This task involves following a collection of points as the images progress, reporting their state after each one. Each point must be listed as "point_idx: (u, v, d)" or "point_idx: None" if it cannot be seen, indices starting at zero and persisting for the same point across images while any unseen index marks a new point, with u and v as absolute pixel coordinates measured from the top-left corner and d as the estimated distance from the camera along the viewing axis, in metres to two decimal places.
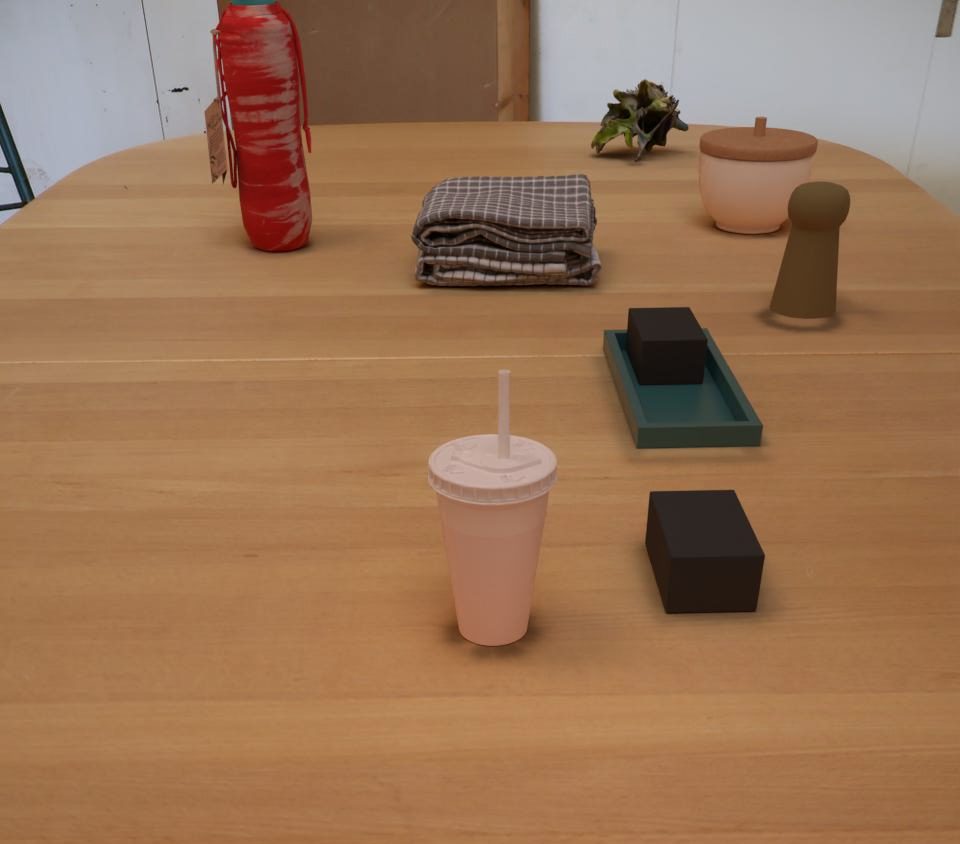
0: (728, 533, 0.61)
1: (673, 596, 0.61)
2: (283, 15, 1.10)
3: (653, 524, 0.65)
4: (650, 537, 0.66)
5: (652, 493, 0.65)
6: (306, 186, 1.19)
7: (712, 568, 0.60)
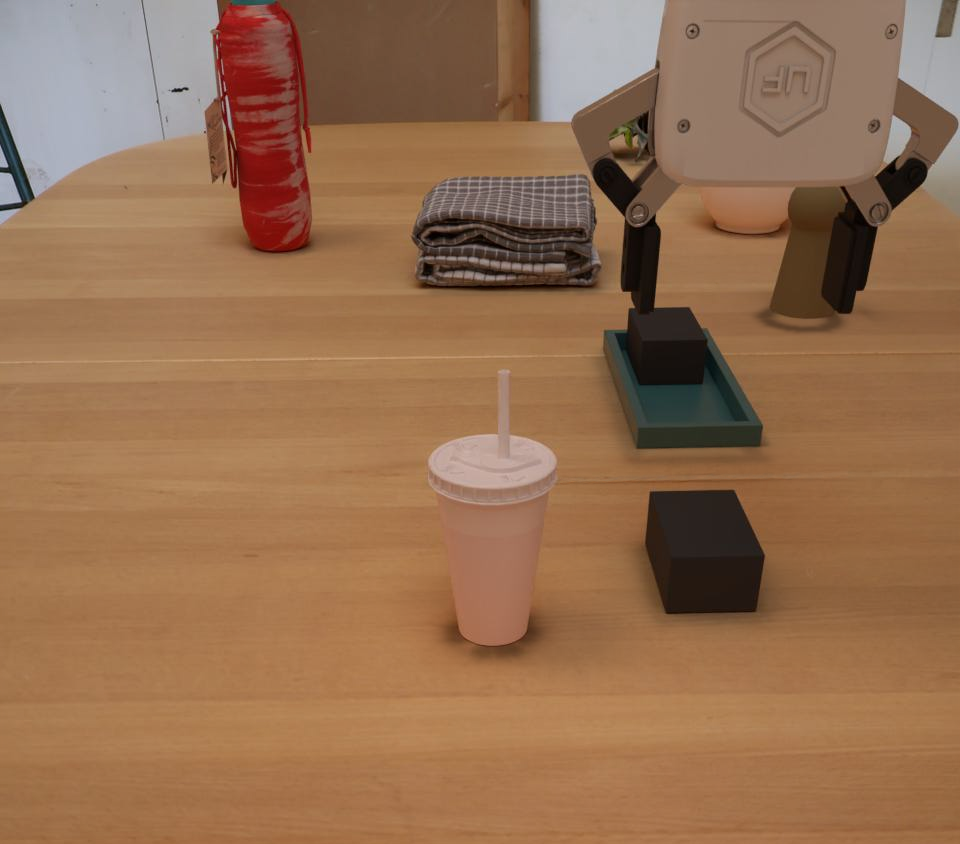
0: (728, 533, 0.61)
1: (673, 596, 0.61)
2: (283, 15, 1.10)
3: (653, 524, 0.65)
4: (650, 537, 0.66)
5: (652, 493, 0.65)
6: (306, 186, 1.19)
7: (712, 568, 0.60)
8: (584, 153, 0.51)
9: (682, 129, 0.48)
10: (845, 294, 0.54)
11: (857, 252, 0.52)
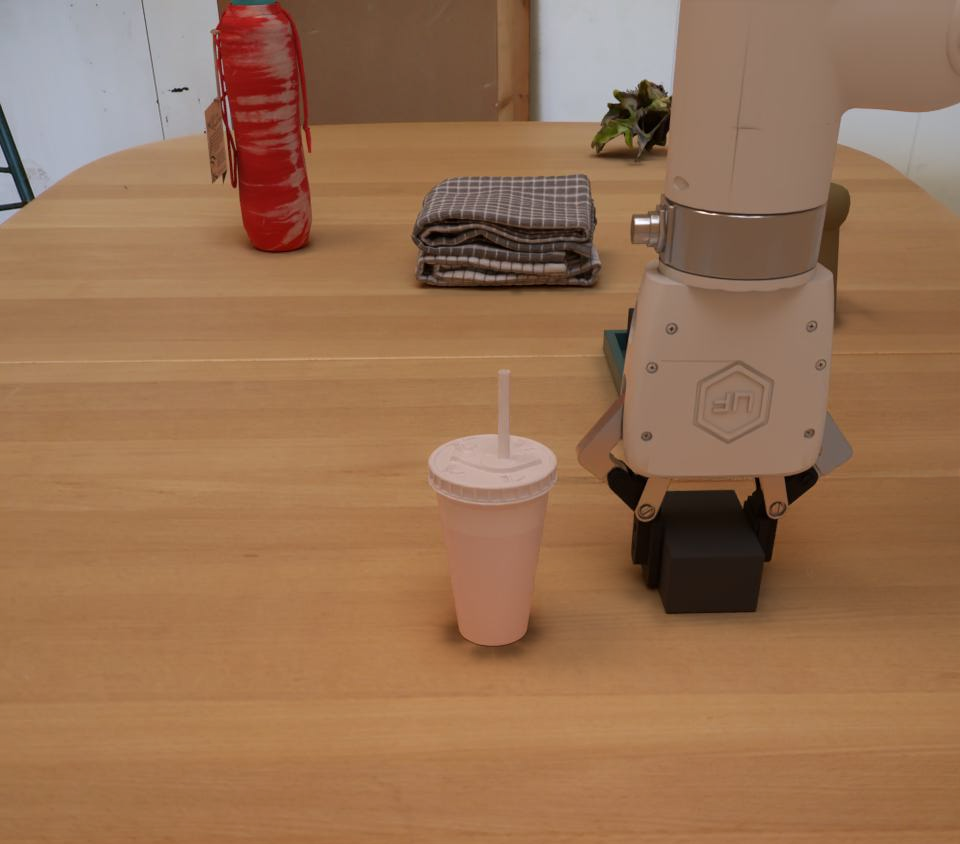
0: (728, 533, 0.61)
1: (673, 596, 0.61)
2: (283, 15, 1.10)
3: None
4: None
5: None
6: (306, 186, 1.19)
7: (712, 568, 0.60)
8: (595, 474, 0.60)
9: (645, 438, 0.57)
10: None
11: (761, 539, 0.62)
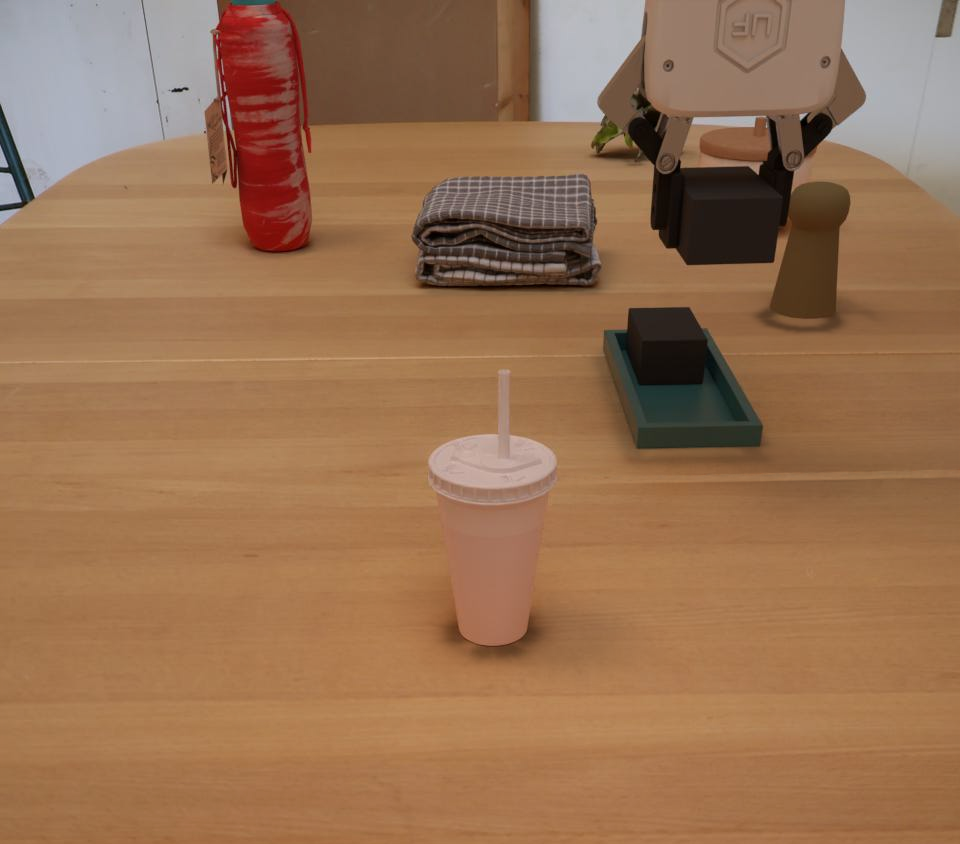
0: (746, 186, 0.63)
1: (693, 245, 0.63)
2: (283, 15, 1.10)
3: None
4: None
5: None
6: (306, 186, 1.19)
7: (731, 211, 0.62)
8: (616, 123, 0.62)
9: (667, 68, 0.59)
10: None
11: (778, 192, 0.63)
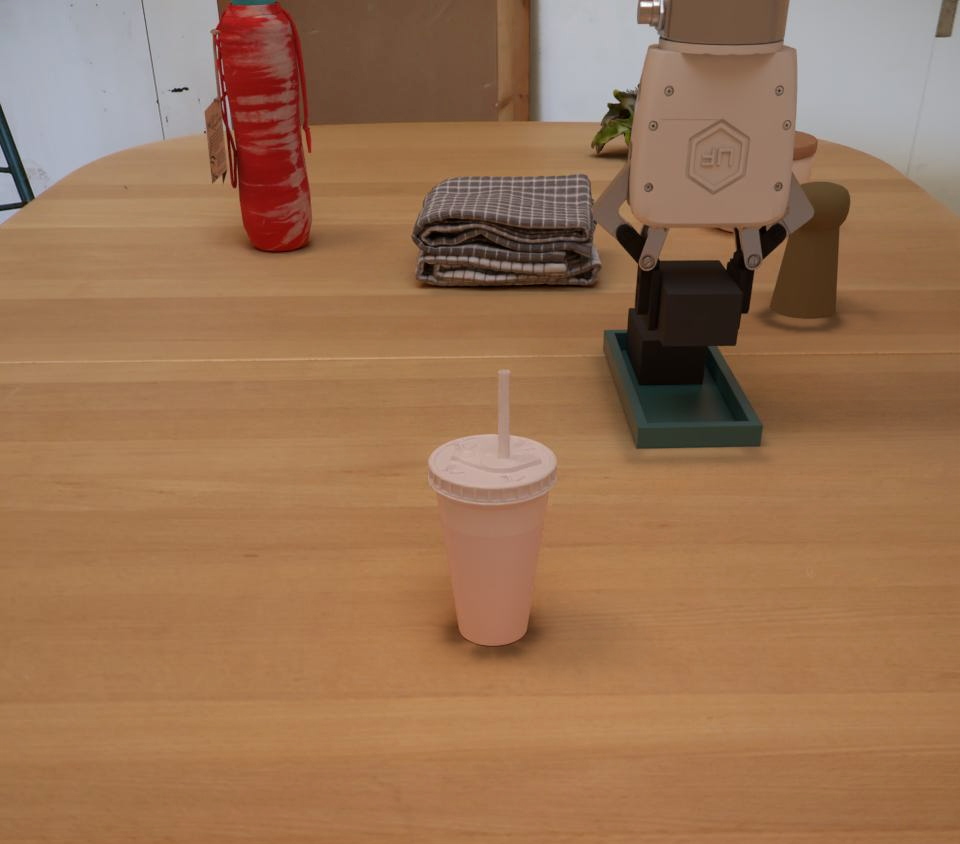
0: (714, 282, 0.76)
1: (668, 330, 0.75)
2: (283, 15, 1.10)
3: None
4: None
5: None
6: (306, 186, 1.19)
7: (700, 304, 0.74)
8: (606, 229, 0.74)
9: (647, 189, 0.71)
10: None
11: (740, 287, 0.76)
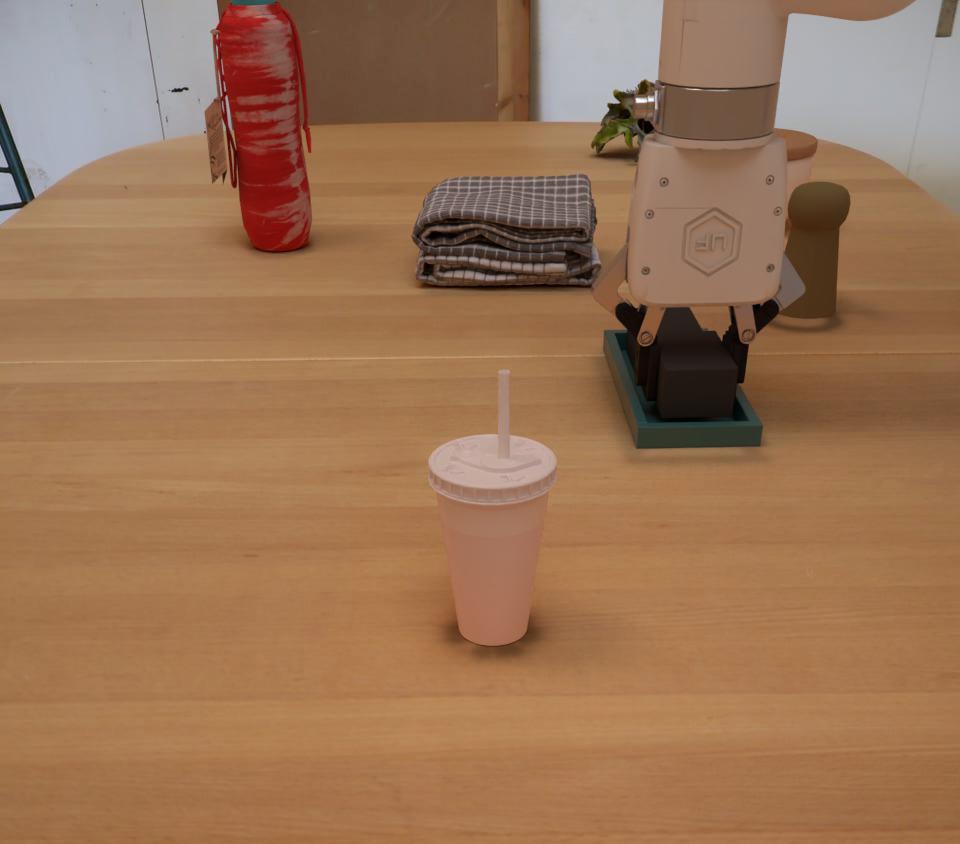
0: (710, 355, 0.79)
1: (667, 404, 0.78)
2: (283, 15, 1.10)
3: None
4: None
5: None
6: (306, 186, 1.19)
7: (697, 379, 0.77)
8: (605, 308, 0.77)
9: (645, 272, 0.74)
10: None
11: (735, 360, 0.79)
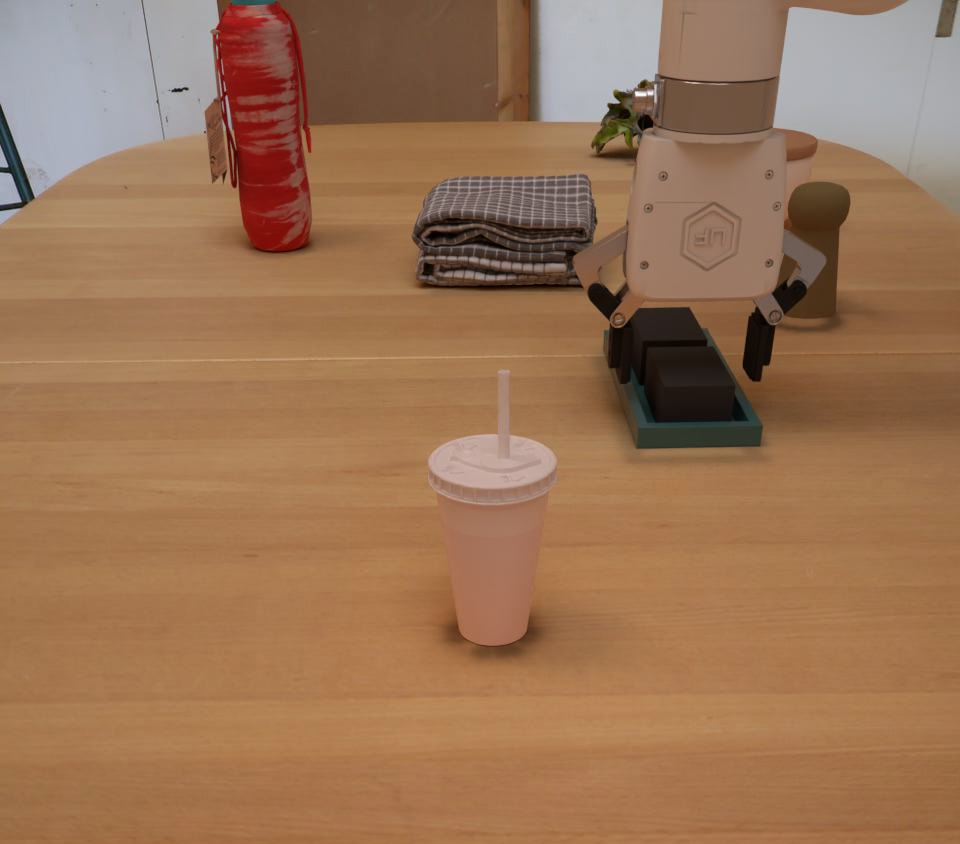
0: (708, 372, 0.79)
1: (665, 419, 0.79)
2: (283, 15, 1.10)
3: (650, 371, 0.83)
4: (647, 383, 0.84)
5: (649, 348, 0.83)
6: (306, 186, 1.19)
7: (695, 395, 0.78)
8: (581, 281, 0.76)
9: (643, 267, 0.74)
10: (755, 369, 0.79)
11: (762, 342, 0.78)
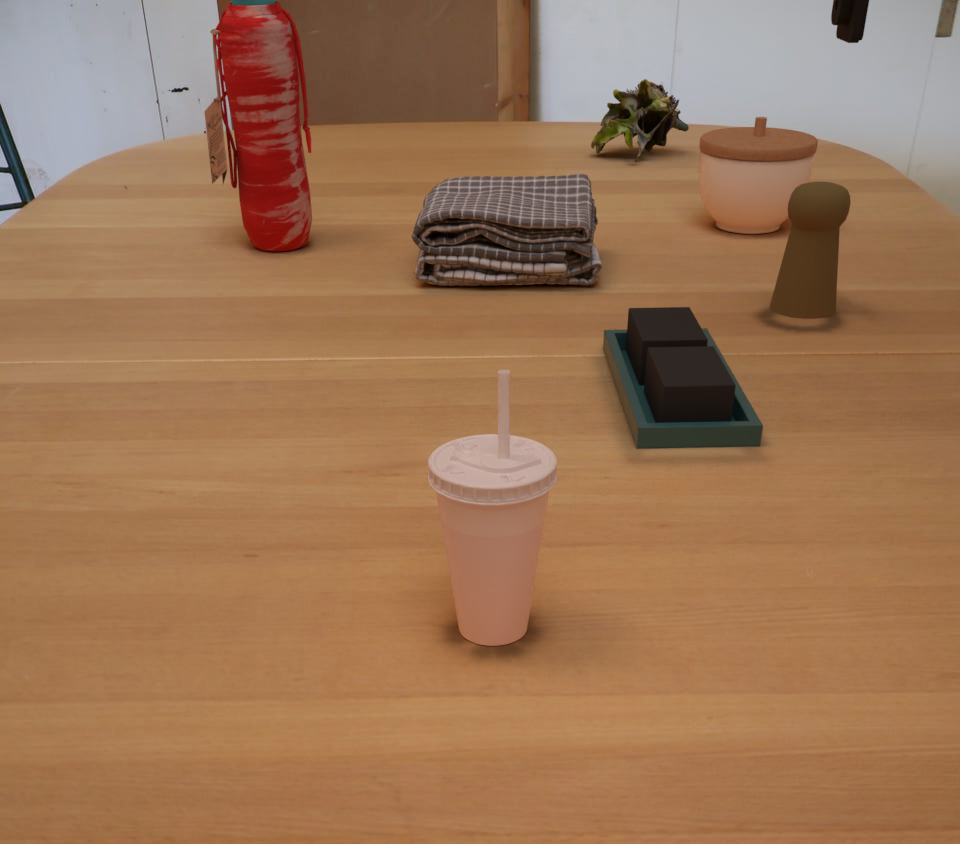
0: (708, 372, 0.79)
1: (665, 419, 0.79)
2: (283, 15, 1.10)
3: (650, 371, 0.83)
4: (647, 383, 0.84)
5: (649, 348, 0.83)
6: (306, 186, 1.19)
7: (695, 395, 0.78)
8: None
9: None
10: None
11: None
